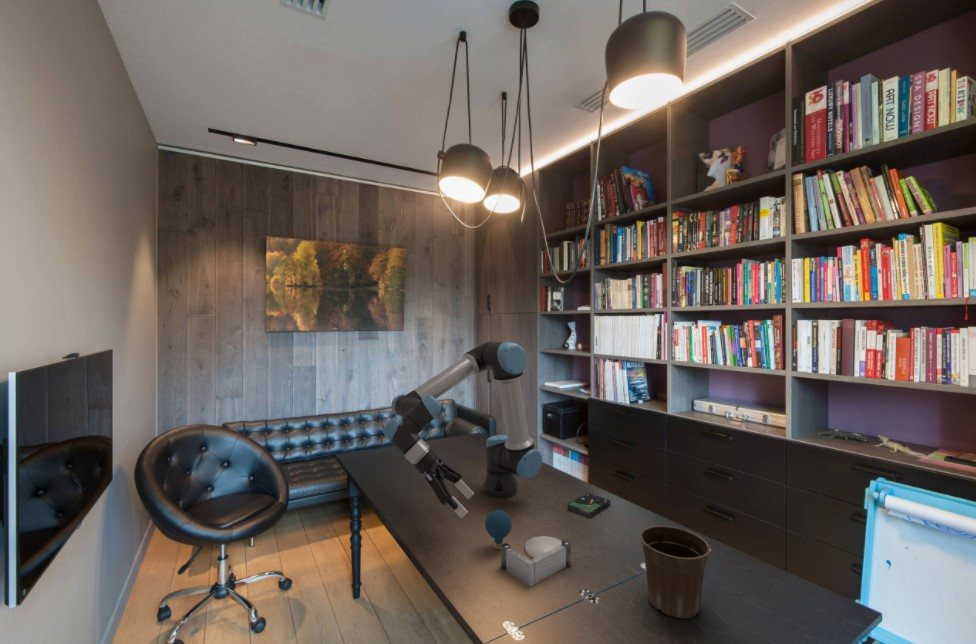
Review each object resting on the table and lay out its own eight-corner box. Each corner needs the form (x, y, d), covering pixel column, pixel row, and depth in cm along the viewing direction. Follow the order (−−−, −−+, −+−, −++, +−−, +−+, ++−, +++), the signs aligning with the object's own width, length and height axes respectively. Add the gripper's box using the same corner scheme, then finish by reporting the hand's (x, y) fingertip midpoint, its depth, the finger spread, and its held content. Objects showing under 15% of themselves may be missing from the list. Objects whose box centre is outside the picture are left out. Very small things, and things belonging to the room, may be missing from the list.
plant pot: (689, 582, 117) (689, 524, 116) (723, 625, 100) (723, 557, 100) (631, 584, 116) (630, 525, 116) (656, 627, 100) (656, 559, 100)
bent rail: (541, 546, 135) (541, 526, 135) (573, 564, 125) (573, 543, 125) (498, 567, 124) (498, 545, 124) (530, 588, 114) (530, 565, 114)
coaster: (544, 535, 142) (544, 532, 142) (575, 551, 132) (575, 548, 132) (516, 548, 134) (516, 545, 134) (546, 566, 124) (546, 563, 124)
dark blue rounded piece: (489, 558, 129) (489, 518, 129) (482, 543, 137) (482, 507, 137) (515, 553, 131) (515, 515, 131) (507, 540, 139) (507, 503, 139)
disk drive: (587, 499, 172) (567, 510, 161) (587, 492, 172) (567, 503, 161) (610, 507, 165) (591, 519, 154) (610, 499, 165) (591, 511, 154)
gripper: (423, 452, 149) (466, 496, 147) (401, 479, 124) (452, 532, 123) (438, 437, 148) (481, 482, 147) (419, 461, 123) (470, 515, 122)
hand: (468, 505), depth 135 cm, fingers open, 13 cm apart
